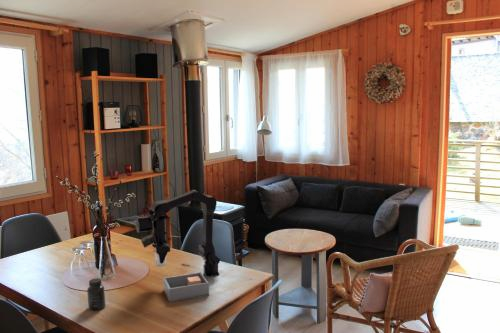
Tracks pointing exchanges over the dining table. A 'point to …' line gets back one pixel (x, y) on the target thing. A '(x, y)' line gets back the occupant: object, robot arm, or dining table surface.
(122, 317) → the dining table surface
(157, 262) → the aluminium cylinder
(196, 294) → the tote
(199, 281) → the terracotta cube
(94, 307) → the supplement bottle
